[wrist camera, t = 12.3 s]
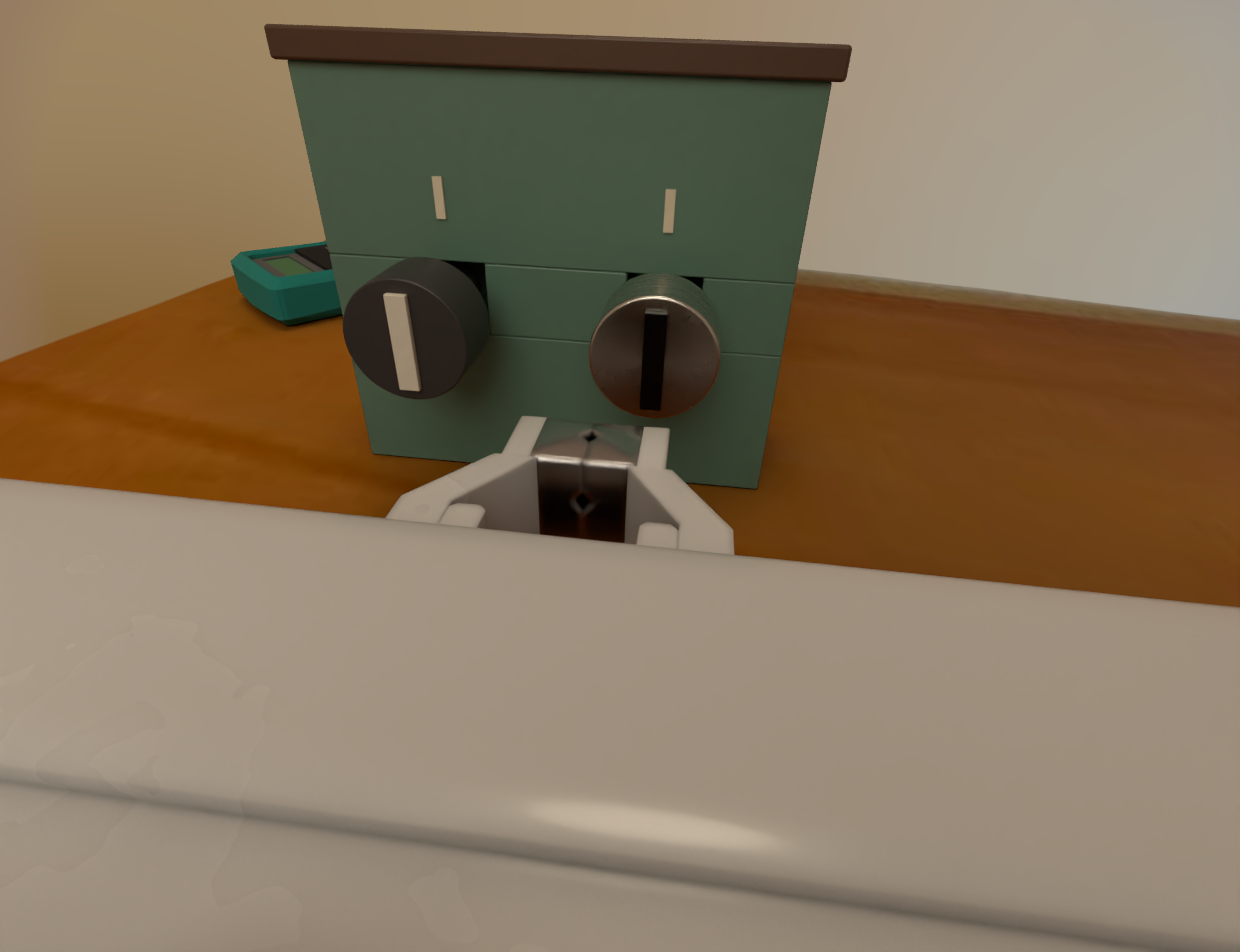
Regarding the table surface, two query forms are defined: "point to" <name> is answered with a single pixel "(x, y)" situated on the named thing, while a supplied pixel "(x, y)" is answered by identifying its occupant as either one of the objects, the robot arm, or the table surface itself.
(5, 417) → the table surface
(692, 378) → the steel knob
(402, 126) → the console
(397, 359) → the black knob
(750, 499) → the table surface
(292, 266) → the digital multimeter
